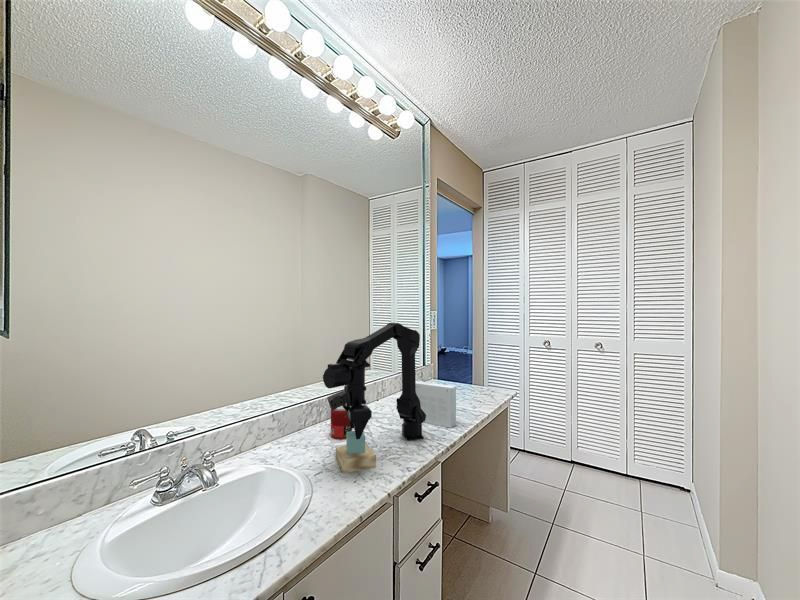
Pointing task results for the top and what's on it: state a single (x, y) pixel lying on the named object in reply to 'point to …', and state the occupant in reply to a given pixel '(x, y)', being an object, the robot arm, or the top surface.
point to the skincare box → (437, 403)
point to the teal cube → (355, 443)
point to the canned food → (339, 423)
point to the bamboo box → (355, 459)
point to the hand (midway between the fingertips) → (355, 433)
